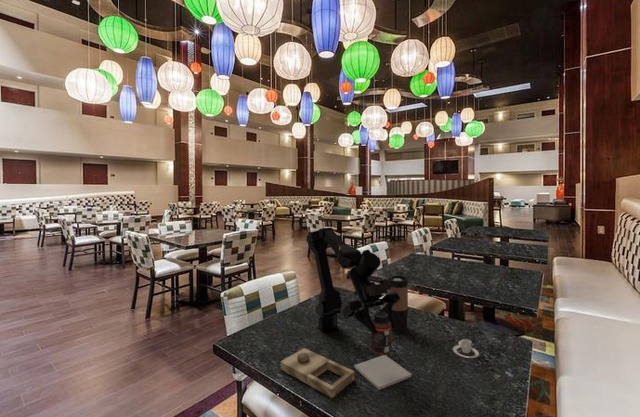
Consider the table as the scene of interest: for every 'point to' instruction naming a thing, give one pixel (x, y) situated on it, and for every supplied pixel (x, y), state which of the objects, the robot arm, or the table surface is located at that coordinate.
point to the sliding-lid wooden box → (316, 371)
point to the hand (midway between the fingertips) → (384, 331)
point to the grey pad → (382, 371)
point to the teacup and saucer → (465, 348)
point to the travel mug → (399, 303)
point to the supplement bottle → (381, 334)
